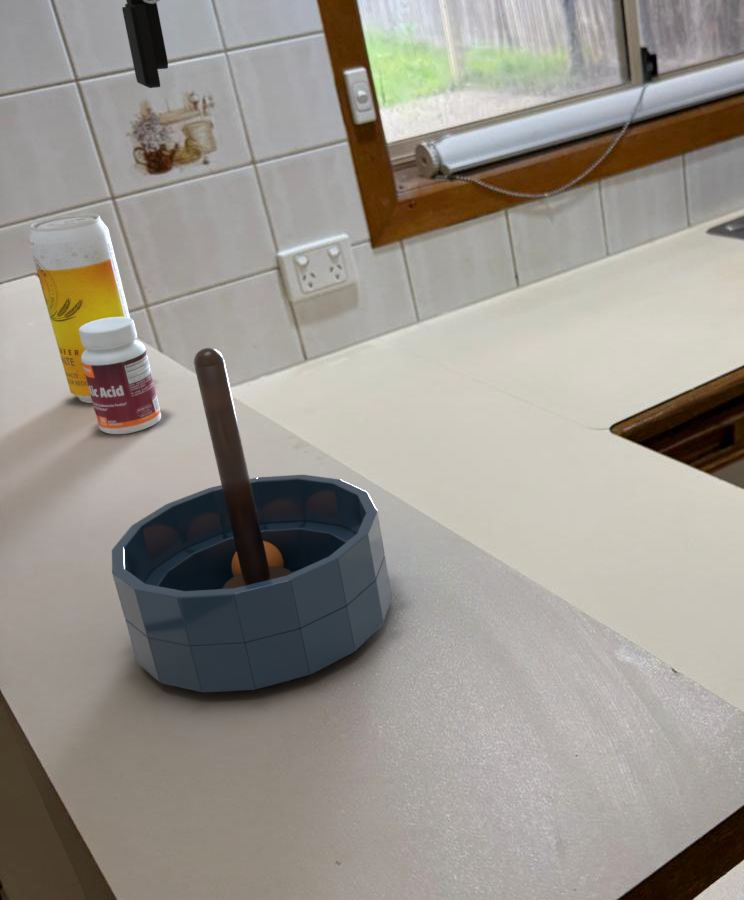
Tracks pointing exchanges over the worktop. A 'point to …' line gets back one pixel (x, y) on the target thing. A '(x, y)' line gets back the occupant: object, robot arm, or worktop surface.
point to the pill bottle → (118, 376)
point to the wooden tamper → (233, 471)
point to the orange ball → (271, 553)
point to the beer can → (76, 284)
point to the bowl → (253, 585)
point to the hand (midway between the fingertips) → (50, 95)
